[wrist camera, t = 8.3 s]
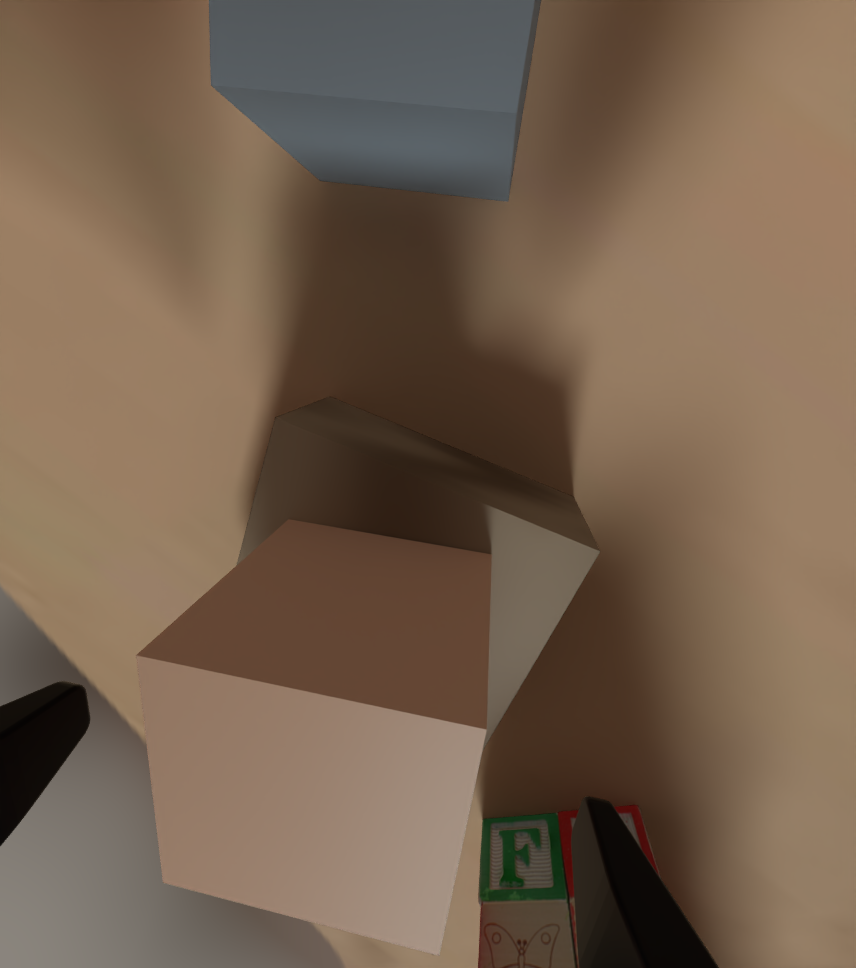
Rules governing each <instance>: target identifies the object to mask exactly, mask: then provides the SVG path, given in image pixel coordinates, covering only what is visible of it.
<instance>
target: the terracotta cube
mask: <svg viewBox="0 0 856 968" xmlns="http://www.w3.org/2000/svg"><path fill="white" fill-rule="evenodd" d="M491 565H492V554H487V553H481V552H475V551H469V550H464V549H458V548H452V547H446V546H440V545H435V544H429V543H423V542H417V541H412V540H406V539H400V538H394V537H388V536H383V535H377V534H371V533H365V532H360V531H354V530H348V529H342V528H337V527H331V526H325V525H319V524H313V523H308V522H302V521H296V520H290V519H288V520H287V521H286V522H285V523H284V524H283V525H282V526H280V527H279V528H278V529H277V530H276V531H275V532H274V533H273V534H271V535H270V536H269V537H268V538H267V539H266V540H265V541H264V542H263V543H261V544H260V545H259V546H258V547H257V548H256V549H255V550H254V551H252V552H251V553H250V554H249V555H248V556H247V557H246V558H245V559H243V560H242V561H241V562H240V563H239V564H238V565H237V566H236V567H235V568H233V569H232V570H231V571H230V572H229V573H228V574H227V575H226V576H224V577H223V578H222V579H221V580H220V581H219V582H218V583H217V584H215V585H214V586H213V587H212V588H211V589H210V590H209V591H208V592H207V593H205V594H204V595H203V596H202V597H201V598H200V599H199V600H198V601H196V602H195V603H194V604H193V605H192V606H191V607H190V608H189V609H187V610H186V611H185V612H184V613H183V614H182V615H181V616H180V617H179V618H177V619H176V620H175V621H174V622H173V623H172V624H171V625H170V626H168V627H167V628H166V629H165V630H164V631H163V632H162V633H161V634H160V635H158V636H157V637H156V638H155V639H154V640H153V641H152V642H151V643H149V644H148V645H147V646H146V647H145V648H144V649H143V650H142V651H140V652H139V653H138V654H137V655H136V658H137V667H138V675H139V684H140V692H141V700H142V709H143V717H144V726H145V734H146V743H147V751H148V759H149V767H150V776H151V785H152V793H153V801H154V809H155V817H156V827H157V835H158V844H159V852H160V861H161V868H162V877H163V883H166V884H170V885H174V886H177V887H181V888H185V889H189V890H193V891H196V892H200V893H204V894H208V895H211V896H215V897H219V898H223V899H227V900H230V901H234V902H238V903H242V904H245V905H249V906H253V907H257V908H261V909H264V910H268V911H272V912H276V913H280V914H283V915H287V916H291V917H295V918H298V919H302V920H306V921H310V922H313V923H317V924H321V925H325V926H329V927H332V928H336V929H340V930H344V931H348V932H351V933H355V934H359V935H363V936H366V937H370V938H374V939H378V940H382V941H385V942H389V943H393V944H397V945H400V946H404V947H408V948H412V949H416V950H419V951H423V952H427V953H431V954H435V955H438V956H439V954H440V950H441V945H442V940H443V935H444V931H445V926H446V921H447V916H448V912H449V907H450V902H451V897H452V893H453V888H454V883H455V878H456V874H457V869H458V864H459V859H460V855H461V850H462V845H463V840H464V835H465V831H466V826H467V821H468V816H469V812H470V807H471V802H472V797H473V793H474V788H475V783H476V778H477V774H478V769H479V764H480V759H481V755H482V750H483V745H484V740H485V736H486V731H487V704H488V669H489V635H490V600H491Z"/></svg>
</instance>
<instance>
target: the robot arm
mask: <svg viewBox="0 0 856 968" xmlns="http://www.w3.org/2000/svg"><path fill="white" fill-rule="evenodd" d="M89 724H90V712H89V706H88V700H87V693H86V689H85V688H84V687H83V686H82V685H80V684H75V683H71V682H65V681H62V682H57V683H54V684H52V685H49V686H47V687H45V688H42V689H40V690H38V691H35V692H33V693H31V694H28V695H26V696H24V697H21V698H19V699H16V700H14V701H12V702H9V703H7V704H5V705H2V706H0V846H1V845H2V843H3V842H4V841H5V840H6V839H7V838H8V836H9V835H10V834H11V833H12V831H13V830H14V829H15V828H16V827H17V825H18V824H19V823H20V822H21V820H22V819H23V818H24V816H25V815H26V814H27V812H28V811H29V810H30V808H31V807H32V806H33V804H34V803H35V802H36V800H37V799H38V798H39V796H40V795H41V793H42V792H43V791H44V789H45V788H46V787H47V785H48V784H49V782H50V781H51V780H52V778H53V777H54V776H55V774H56V773H57V771H58V770H59V769H60V767H61V766H62V765H63V763H64V762H65V761H66V759H67V758H68V756H69V755H70V754H71V752H72V751H73V749H74V748H75V747H76V745H77V744H78V742H79V741H80V740H81V738H82V737H83V736H84V734H85V733H86V731H87V729H88V727H89ZM571 850H572V867H573V883H574V900H575V916H576V933H577V948H578V961H579V968H719V967H718V965H717V964H716V962H715V961H714V959H713V958H712V956H711V955H710V953H709V952H708V950H707V948H706V947H705V945H704V944H703V942H702V941H701V939H700V938H699V936H698V935H697V933H696V932H695V930H694V929H693V927H692V926H691V924H690V922H689V921H688V919H687V918H686V916H685V915H684V913H683V912H682V910H681V909H680V907H679V906H678V904H677V903H676V901H675V899H674V898H673V896H672V895H671V893H670V892H669V890H668V889H667V887H666V886H665V884H664V883H663V881H662V880H661V878H660V877H659V875H658V873H657V872H656V870H655V869H654V867H653V866H652V864H651V863H650V861H649V860H648V858H647V857H646V855H645V854H644V852H643V850H642V849H641V847H640V846H639V844H638V843H637V841H636V840H635V838H634V837H633V835H632V834H631V832H630V831H629V829H628V828H627V826H626V824H625V823H624V821H623V820H622V818H621V817H620V815H619V814H618V812H617V811H616V809H615V808H614V806H613V805H612V804H611V803H610V802H609V801H607V800H603V799H599V798H594V797H590V796H586V797H584V798H583V800H582V802H581V805H580V808H579V811H578V814H577V817H576V820H575V823H574V826H573V829H572V836H571Z"/></svg>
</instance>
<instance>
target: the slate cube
mask: <svg viewBox="0 0 856 968" xmlns="http://www.w3.org/2000/svg"><path fill="white" fill-rule="evenodd" d="M540 4H541V0H209V23H210V67H211V86H212V87H213V88H215V89H216V90H217V91H218V92H219V93H220V94H221V95H223V96H224V97H225V98H226V99H227V100H228V101H229V102H231V103H232V104H233V105H234V106H235V107H236V108H237V109H239V110H240V111H241V112H242V113H243V114H244V115H245V116H247V117H248V118H249V119H250V120H251V121H252V122H253V123H255V124H256V125H257V126H258V127H259V128H260V129H261V130H263V131H264V132H265V133H266V134H267V135H268V136H269V137H271V138H272V139H273V140H274V141H275V142H276V143H277V144H279V145H280V146H281V147H282V148H283V149H284V150H285V151H287V152H288V153H289V154H290V155H291V156H292V157H293V158H295V159H296V160H297V161H298V162H299V163H300V164H302V165H303V166H304V167H305V168H306V169H307V170H308V171H310V172H311V173H312V174H313V175H314V176H315V177H316V178H318V179H319V180H320V181H327V182H336V183H345V184H354V185H363V186H372V187H381V188H390V189H399V190H408V191H417V192H426V193H435V194H444V195H453V196H462V197H471V198H480V199H490V200H499V201H508V200H509V194H510V187H511V181H512V175H513V169H514V163H515V157H516V151H517V145H518V139H519V132H520V126H521V120H522V114H523V108H524V102H525V96H526V90H527V83H528V77H529V71H530V65H531V59H532V53H533V47H534V41H535V35H536V28H537V22H538V16H539V10H540Z"/></svg>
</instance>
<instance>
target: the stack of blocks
mask: <svg viewBox="0 0 856 968" xmlns="http://www.w3.org/2000/svg"><path fill="white" fill-rule="evenodd" d="M614 808H615V809H616V811H617V812H618V814H619V815H620V817H621V818H622V820H623V821H624V823H625V824H626V826H627V828H628V829H629V831H630V832H631V834H632V835H633V837H634V838H635V840H636V841H637V843H638V844H639V846H640V847H641V849H642V850H643V852H644V854H645V855H646V857H647V858H648V860H649V861H650V863H651V864H652V866H653V867H654V869H655V870H656V872H657V873H658V875H659V877H660V878H661V876H660V873H659V870H658V867H657V864H656V861H655V857H654V854H653V851H652V847H651V844H650V841H649V837H648V834H647V831H646V827H645V824H644V821H643V817H642V814H641V811H640V808H639V807H638V805H630V806H619V807H614ZM578 811H579V810H573V811H561V812H558V813H551V814H539V815H527V816H514V817H503V818H490V819H483V822H482V841H481V855H480V877H479V893H478V898H479V905H480V907H481V914H480V938H479V959H478V968H579V961H578V948H577V933H576V916H575V900H574V883H573V867H572V850H571V836H572V829H573V826H574V823H575V820H576V817H577V814H578Z"/></svg>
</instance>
